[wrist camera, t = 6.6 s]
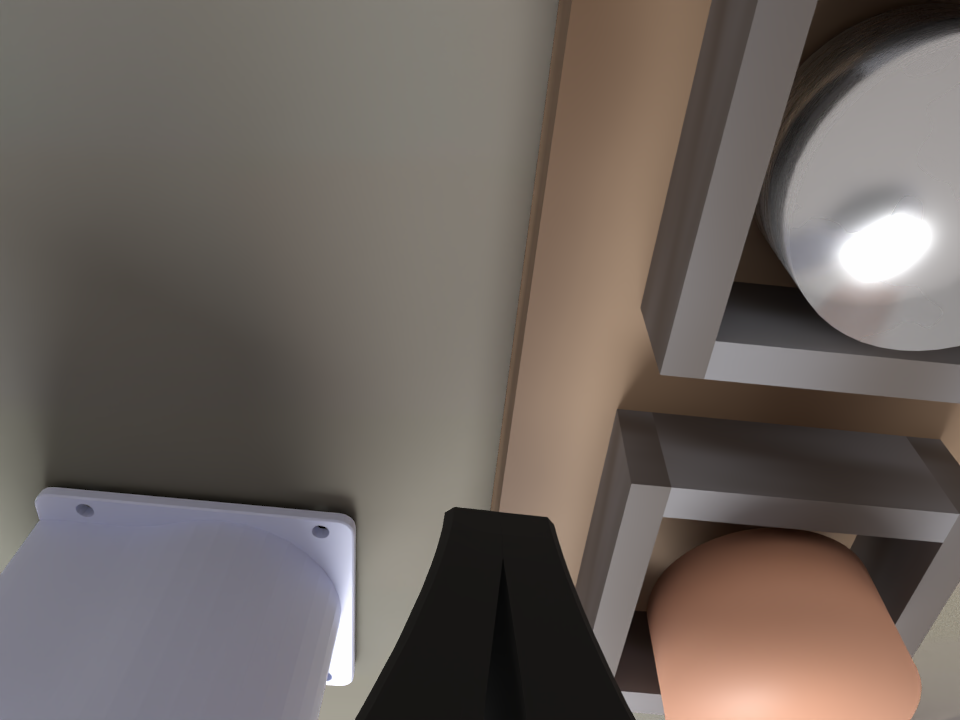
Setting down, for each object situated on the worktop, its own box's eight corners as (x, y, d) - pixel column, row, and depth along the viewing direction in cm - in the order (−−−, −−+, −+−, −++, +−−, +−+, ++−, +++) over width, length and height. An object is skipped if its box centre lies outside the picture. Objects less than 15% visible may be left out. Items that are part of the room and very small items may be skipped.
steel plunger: (717, 270, 15) (750, 335, 13) (797, -13, 12) (856, 12, 10) (970, 294, 15) (1044, 364, 13) (1105, 20, 12) (1226, 51, 10)
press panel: (481, 577, 25) (474, 740, 20) (592, -249, 14) (635, -307, 9) (849, 610, 25) (926, 778, 20) (1262, -173, 14) (1642, -193, 9)
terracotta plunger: (627, 665, 19) (642, 764, 17) (673, 517, 16) (697, 613, 14) (828, 683, 19) (867, 783, 17) (906, 538, 16) (965, 638, 14)
